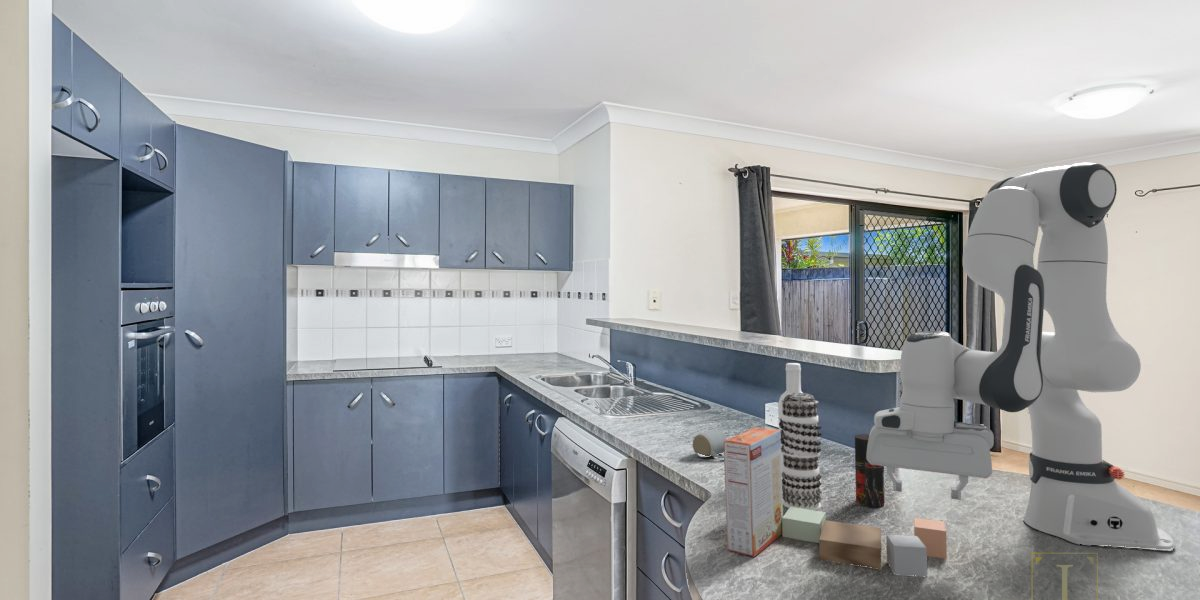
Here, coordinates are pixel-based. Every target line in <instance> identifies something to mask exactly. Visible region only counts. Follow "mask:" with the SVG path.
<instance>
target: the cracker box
mask: <svg viewBox="0 0 1200 600" xmlns="http://www.w3.org/2000/svg"><path fill="white" fill-rule="evenodd" d="M726 439H727V440H725V441H724V453H723V457H724V461H723V462H724V486H725V487H724V488H725V489H724V490H725V491H724V492H725V519H726V521H725V522H726V548H727V551H729V550H730V551H729V552H733V553H737V554H741V555H744V556H748V555H749V557H752V556H753V557H754V558H755V557H756V556H757V555H759V554H760V553H761V552H762V551H763V550H765V549H766V548H767V547H768V546H770V545H771V544H772V543H773V542H774V541H775V540H777V539H778V538H780V536H782V517H783V516H784V507H783V506H784V505H783V498H782V493H783V492H782V486H783V483H782V469H781V439H780V430H779V429H773V428H771V429H770V428H765V427H758V426H757V427H756V426H755V427H753V428H750V429H749V430H746V431H744V432H741V433H740V434H737V435H735V436H732V437H731V438H726Z"/></svg>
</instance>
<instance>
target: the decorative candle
mask: <svg viewBox="0 0 1200 600" xmlns="http://www.w3.org/2000/svg"><path fill="white" fill-rule="evenodd" d="M781 401H782V404H783V405H782V407H783V413H782V420H781V419H780V423H779V422H778V427H779V426H780V428H782V430H781V431H780V435H781V438H780V439H781V444H784V445H782V447H781V452H782V454H783V459H784V464H783V472H782V477H783V479H782V500H783V506H784V507H785V508H788V509H789V508H790V507H796V508H802V509H808V510H815V511H818V510H820V509H821V507H822V504H821V501H822V500H823V499H822V497H821V494H822V490H821V488H820V487H821V486H822V483H821V481H820V480H821V479H822V476H821V473H820V466H819V457H820V456H821V452H822V448H820V447H819V446H820V445H821V444H822V442H821V441H820V440H819V439H818V437H821V436H822V435H823V434H822V432H821V431H820V430H821V429H822V426H821V425H820V424H819V415H818V404H819V400H816V399H815V396H813V395H812V394H810V393H805V392H803V393H790V394H787V395H786V396H785V398H784V399H783V400H781Z"/></svg>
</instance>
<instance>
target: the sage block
mask: <svg viewBox="0 0 1200 600" xmlns="http://www.w3.org/2000/svg"><path fill="white" fill-rule="evenodd" d="M826 513H827V512H826V511H821V510H808V509H802V508H796V507H790V508H788V509H787V511H786V512H785V513H784V514H783V517H782V534H781V536H782V537H783V538H787V539H792V540H798V541H804V542H809V543H815V544H819V538H820V535H821V531H822V527H823V523H824V520H826V521H827V514H826Z"/></svg>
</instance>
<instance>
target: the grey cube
mask: <svg viewBox="0 0 1200 600" xmlns="http://www.w3.org/2000/svg"><path fill="white" fill-rule="evenodd" d="M885 538H886V563H887V562H888V563H887V565H888V564H889V565H890V566H889V565H888V566H889V567H891V568H890V570H891V571H892V570H893V571H892V573H893V572H894V573H895V574H900V575H899V576H904V575H914V576H913V577H918V576H926V577H925V578H927V577H928V566H927V565H928V562H927V561H928V557H927V549H926V547H925V545H924V544H923V543H922V542H921V540H920V539H919V538H918V537H917V536H914V535H908V534H907V535H903V534H890V533H889V534H888V533H887V534H886V537H885ZM894 573H893V574H894ZM895 574H894V575H895ZM915 575H916V576H915Z"/></svg>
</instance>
